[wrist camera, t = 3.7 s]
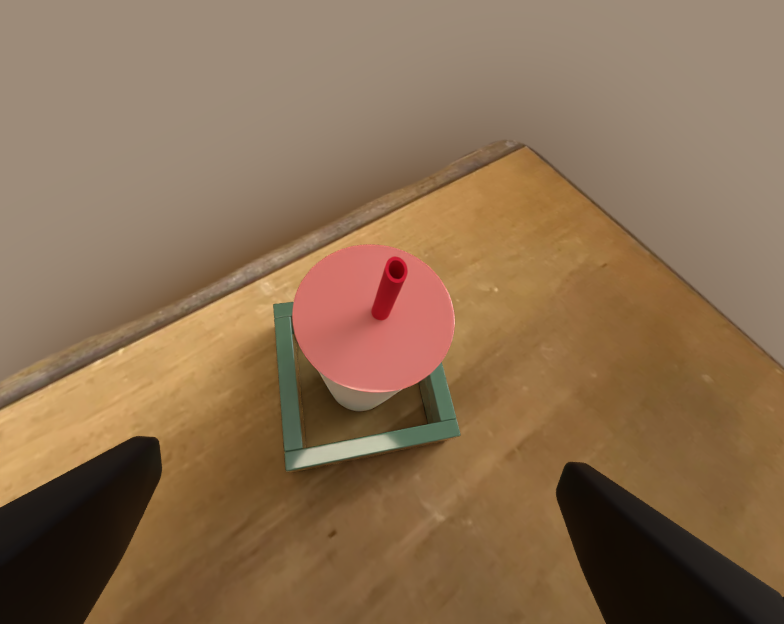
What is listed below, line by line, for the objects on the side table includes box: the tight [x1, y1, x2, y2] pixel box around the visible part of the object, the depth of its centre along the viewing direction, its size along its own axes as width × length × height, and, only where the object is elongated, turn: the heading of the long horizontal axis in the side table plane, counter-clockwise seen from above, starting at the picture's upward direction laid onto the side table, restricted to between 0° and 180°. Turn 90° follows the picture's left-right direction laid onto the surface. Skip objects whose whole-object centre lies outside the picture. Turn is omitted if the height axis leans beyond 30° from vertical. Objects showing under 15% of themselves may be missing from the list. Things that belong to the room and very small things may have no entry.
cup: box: [292, 245, 455, 411], centre depth 15 cm, size 5×5×12 cm
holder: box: [273, 302, 460, 473], centre depth 19 cm, size 8×8×2 cm
